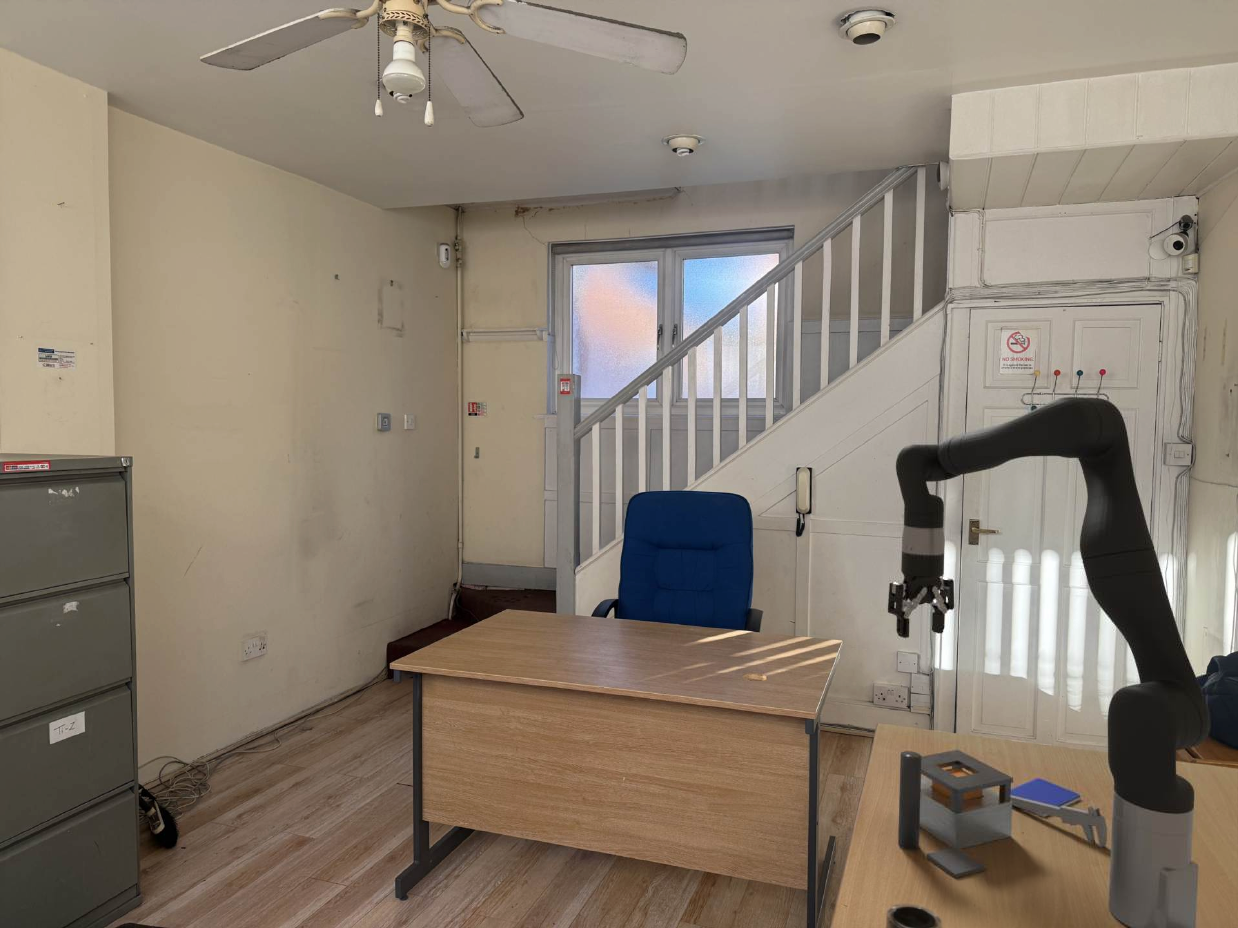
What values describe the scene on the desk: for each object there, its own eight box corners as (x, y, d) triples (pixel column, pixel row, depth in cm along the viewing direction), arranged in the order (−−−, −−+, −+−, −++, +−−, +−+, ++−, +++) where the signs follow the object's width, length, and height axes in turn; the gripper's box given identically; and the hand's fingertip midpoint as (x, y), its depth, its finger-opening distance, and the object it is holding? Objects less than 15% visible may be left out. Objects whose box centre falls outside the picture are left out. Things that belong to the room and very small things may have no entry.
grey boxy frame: (1010, 836, 131) (1013, 777, 131) (955, 849, 127) (957, 789, 126) (956, 803, 143) (957, 749, 142) (903, 815, 138) (904, 759, 138)
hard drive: (1043, 811, 138) (1080, 794, 145) (999, 792, 145) (1036, 776, 151) (1043, 820, 138) (1080, 802, 145) (999, 800, 145) (1036, 784, 151)
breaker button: (981, 808, 133) (982, 780, 133) (956, 814, 131) (957, 786, 131) (956, 793, 138) (957, 767, 138) (931, 799, 136) (932, 772, 136)
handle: (923, 847, 128) (926, 757, 127) (907, 851, 126) (910, 760, 126) (909, 837, 131) (911, 749, 130) (893, 841, 129) (896, 752, 129)
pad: (985, 869, 121) (985, 866, 121) (955, 877, 119) (955, 874, 119) (955, 849, 127) (955, 846, 127) (926, 857, 125) (926, 853, 125)
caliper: (1106, 848, 128) (1108, 811, 128) (1102, 850, 128) (1104, 812, 127) (991, 796, 146) (993, 763, 146) (988, 797, 145) (989, 764, 145)
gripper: (908, 555, 142) (906, 643, 143) (966, 550, 148) (964, 635, 149) (879, 549, 149) (877, 633, 150) (935, 545, 155) (933, 626, 156)
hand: (920, 634), depth 149 cm, fingers open, 8 cm apart
